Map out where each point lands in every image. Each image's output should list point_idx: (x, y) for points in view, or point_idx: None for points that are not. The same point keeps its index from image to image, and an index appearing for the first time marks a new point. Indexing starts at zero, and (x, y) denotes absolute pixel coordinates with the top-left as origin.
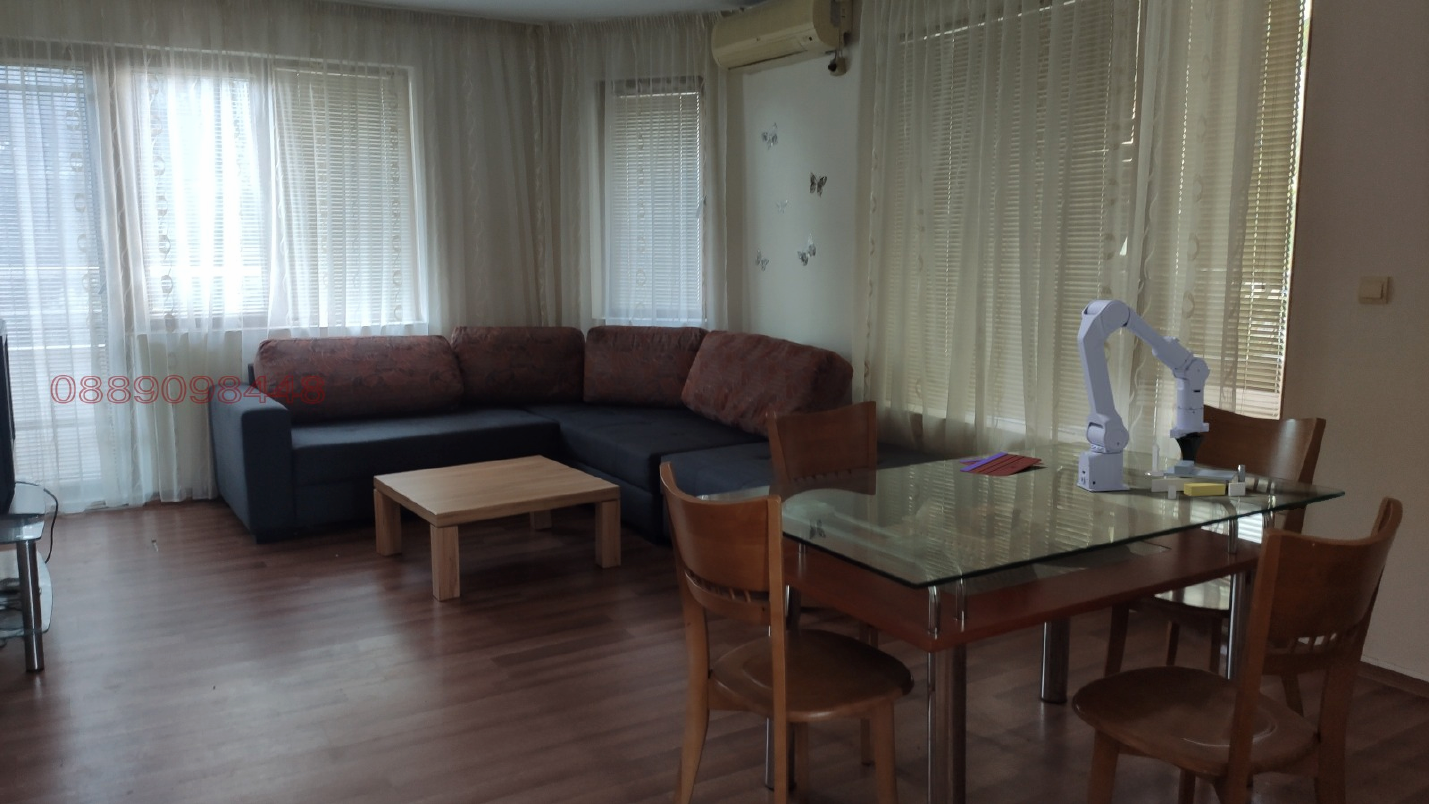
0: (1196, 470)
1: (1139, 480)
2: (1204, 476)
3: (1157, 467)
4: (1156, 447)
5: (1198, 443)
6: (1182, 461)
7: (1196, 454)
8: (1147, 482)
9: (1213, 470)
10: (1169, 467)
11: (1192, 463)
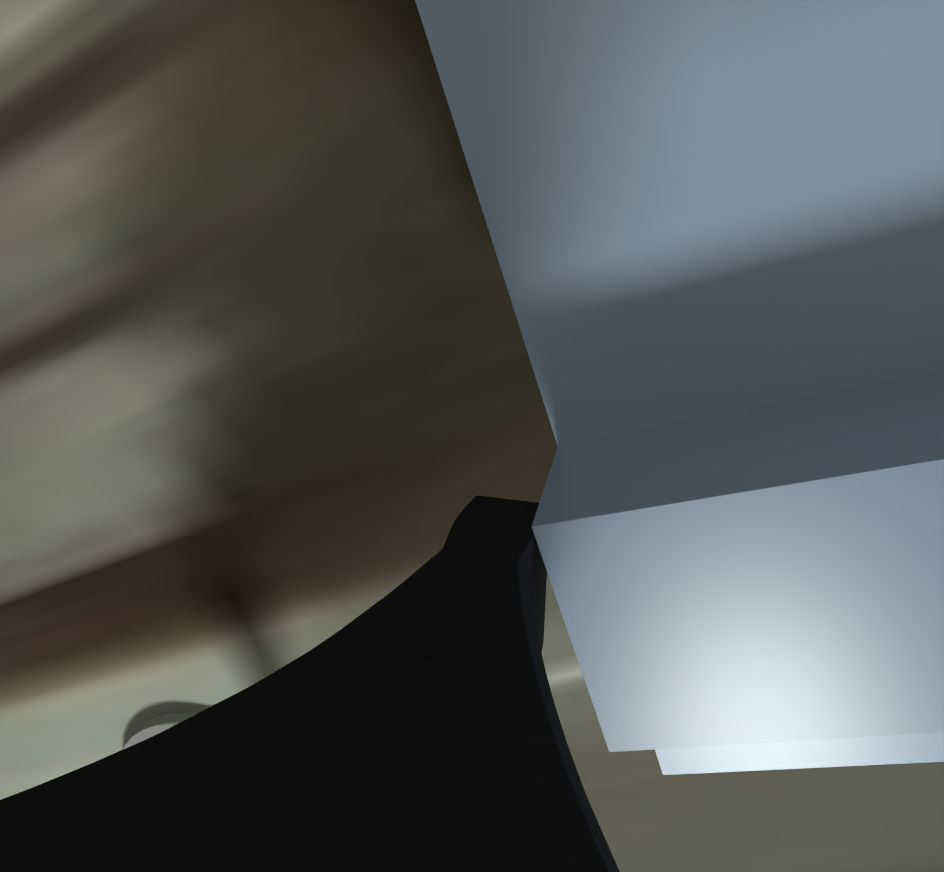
0: (745, 330)
1: (736, 864)
2: None
3: None
4: None
5: (309, 830)
6: (744, 689)
7: (410, 592)
8: (806, 787)
9: (514, 38)
10: (716, 768)
11: (774, 476)
